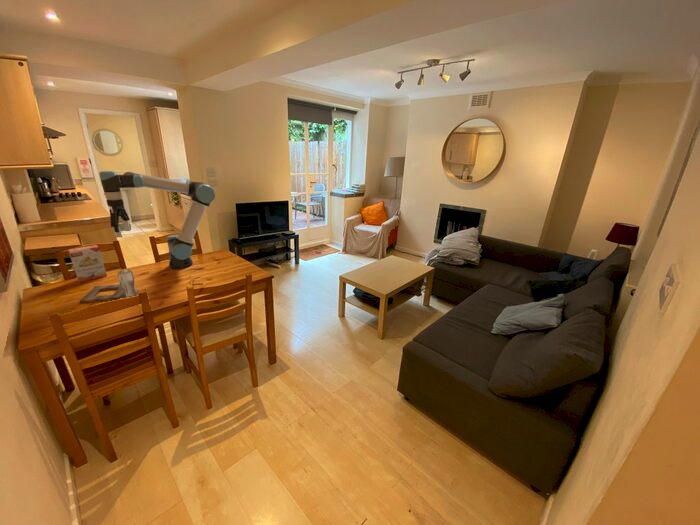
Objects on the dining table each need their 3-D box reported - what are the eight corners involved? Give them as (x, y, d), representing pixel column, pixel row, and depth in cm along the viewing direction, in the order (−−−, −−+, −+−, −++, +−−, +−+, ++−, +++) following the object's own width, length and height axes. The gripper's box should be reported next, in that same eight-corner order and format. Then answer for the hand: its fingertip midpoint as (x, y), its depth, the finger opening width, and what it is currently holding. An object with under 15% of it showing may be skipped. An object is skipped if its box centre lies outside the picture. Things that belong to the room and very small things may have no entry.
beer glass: (135, 291, 171) (129, 268, 166) (139, 295, 167) (133, 271, 162) (121, 295, 166) (115, 271, 161) (125, 299, 162) (118, 275, 157)
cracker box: (79, 282, 179) (68, 251, 171) (77, 279, 182) (67, 249, 174) (107, 276, 189) (98, 246, 181) (105, 273, 192) (96, 244, 184)
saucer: (146, 290, 174) (146, 289, 174) (139, 299, 164) (139, 298, 163) (122, 292, 170) (122, 291, 170) (114, 302, 160) (114, 301, 160)
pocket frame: (130, 285, 179) (129, 283, 178) (118, 299, 163) (118, 297, 162) (95, 288, 173) (94, 286, 173) (80, 303, 157) (79, 300, 157)
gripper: (115, 195, 175) (124, 228, 183) (96, 203, 153) (107, 240, 161) (129, 195, 177) (138, 228, 185) (113, 202, 155) (123, 239, 163)
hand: (123, 234), depth 173 cm, fingers open, 13 cm apart
